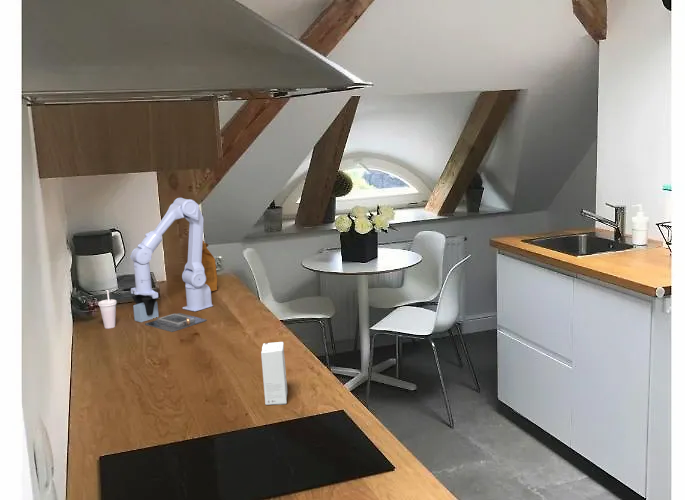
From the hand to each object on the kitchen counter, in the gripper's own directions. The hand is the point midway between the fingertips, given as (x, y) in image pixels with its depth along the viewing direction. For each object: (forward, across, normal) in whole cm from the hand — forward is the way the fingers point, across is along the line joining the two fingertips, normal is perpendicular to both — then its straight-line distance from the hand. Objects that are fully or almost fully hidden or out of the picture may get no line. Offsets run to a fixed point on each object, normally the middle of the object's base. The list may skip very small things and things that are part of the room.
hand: (146, 313), depth 264 cm
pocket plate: (+2, +14, +3) cm, 14 cm away
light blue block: (+2, 0, 0) cm, 2 cm away
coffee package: (+2, -14, +41) cm, 43 cm away
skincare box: (+2, +94, -26) cm, 98 cm away
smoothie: (+2, -3, -14) cm, 14 cm away
